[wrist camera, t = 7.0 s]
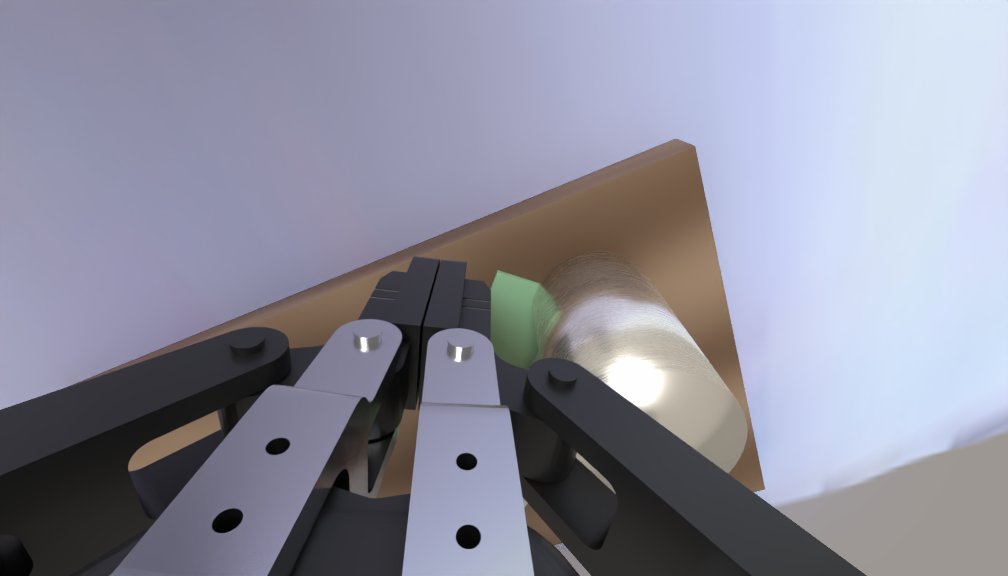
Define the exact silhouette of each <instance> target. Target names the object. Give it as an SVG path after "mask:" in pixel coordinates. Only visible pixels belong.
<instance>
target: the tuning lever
mask: <svg viewBox="0 0 1008 576" xmlns="http://www.w3.org/2000/svg"><path fill="white" fill-rule="evenodd" d="M533 316H534V323H535V330H536V337H537V344H538V353H537V355H536V356H535V358H534V360H533V362H532V363H531V364H533V363H534V362H536V361H537V360H540V359H544V358H561V359H566V360H569V361H572V362H575V363H577V364H579V365H580V366H582V367H584V368H585V369H586V370H588V371H589V372H590V373H592V374H593V375H595V376H596V377H597V378H599V379H600V380H601V381H603V382H604V383H605V384H607V385H608V386H609V387H611V388H612V389H614V390H615V391H616V392H618V393H619V394H620V395H622V396H623V397H624V398H626V399H627V400H628V401H630V402H631V403H633V404H634V405H635V406H637V407H638V408H639V409H641V410H642V411H643V412H645V413H646V414H648V415H649V416H650V417H652V418H653V419H654V420H656V421H657V422H658V423H660V424H661V425H662V426H664V427H665V428H667V429H668V430H669V431H671V432H672V433H673V434H675V435H676V436H677V437H679V438H680V439H682V440H683V441H684V442H686V443H687V444H688V445H690V446H691V447H692V448H694V449H695V450H696V451H698V452H699V453H701V454H702V455H703V456H705V457H706V458H707V459H709V460H710V461H711V462H713V463H714V464H715V465H717V466H718V467H720V468H721V469H722V470H724V471H725V472H726V473H729V472H730V471H731V470H732V469H733V467H734V466H735V465H736V463H737V462H738V460H739V459H740V457H741V454H742V452H743V450H744V447H745V444H746V440H747V431H748V430H747V421H746V417H745V414H744V411H743V409H742V407H741V405H740V404H739V402H738V401H737V400H736V398H735V397H734V395H733V394H732V393H731V391H730V390H729V388H728V387H727V386H726V384H725V383H724V382H723V380H722V379H721V377H720V376H719V375H718V373H717V372H716V370H715V369H714V368H713V366H712V365H711V364H710V362H709V361H708V359H707V358H706V357H705V355H704V354H703V352H702V351H701V350H700V348H699V347H698V346H697V344H696V343H695V341H694V340H693V339H692V337H691V336H690V334H689V333H688V332H687V330H686V329H685V327H684V326H683V325H682V323H681V322H680V321H679V319H678V318H677V316H676V315H675V314H674V312H673V311H672V309H671V308H670V307H669V305H668V304H667V303H666V301H665V300H664V298H663V297H662V296H661V294H660V293H659V291H658V290H657V289H656V287H655V286H654V284H653V283H652V282H651V280H650V279H649V278H648V276H647V275H646V273H645V272H644V271H643V270H642V268H640V267H639V266H638V265H637V264H636V263H635V262H633V261H632V260H630V259H628V258H626V257H624V256H622V255H619V254H616V253H611V252H602V251H597V252H587V253H582V254H579V255H575V256H573V257H571V258H568V259H566V260H565V261H563V262H561V263H560V264H558V265H557V266H556V267H554V268H553V269H552V270H551V271H550V272H549V273H548V274H547V275H546V276H545V278H544V279H543V280H542V282H541V283H540V285H539V287H538V289H537V291H536V294H535V298H534V303H533ZM530 366H531V365H530ZM576 458H577V459H578V460H579V461H580V462H582V463H583V464H584V465H585V466H586V467H587V468H588V469H589V470H590V471H591V472H592V473H593V474H594V475H595V476H597V477H598V478H599V479H600V480H601V481H602V482H603V483H604V484H605V485H606V486H607V487H608V488H609V489H611V490H612V491H613V492H614V493H615V491H614V489H613V487H612V486H611V484H610V483H609V482H608V481H607V480H606V478H604V477H603V476H602V475H601V474H600V473H599V472H598V471H597V470H596V469H595V468H594V467H592V466H591V465H590V464H589V463H588V462H587V461H586V460H585V459H584V458H583V457H582V456H581V455H579V454H578V453H577V454H576ZM615 494H616V493H615ZM523 504H524V508H525V507H526V505H527V504H528V503H527V502H526V501H525V499H524V498H523Z"/></svg>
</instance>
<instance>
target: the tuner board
mask: <svg viewBox="0 0 1008 576" xmlns="http://www.w3.org/2000/svg"><path fill="white" fill-rule="evenodd" d="M597 251H602V252H611V253H616V254H619V255H622V256H624V257H626V258H628V259H630V260H632V261H633V262H635V263H636V264H637V265H638V266H639V267H640V268H642V270H643V271H644V272H645V273H646V275H647V276H648V278H649V279H650V280H651V282H652V283H653V284H654V286H655V287H656V289H657V290H658V291H659V293H660V294H661V296H662V297H663V298H664V300H665V301H666V303H667V304H668V305H669V307H670V308H671V309H672V311H673V312H674V314H675V315H676V316H677V318H678V319H679V321H680V322H681V323H682V325H683V326H684V327H685V329H686V330H687V332H688V333H689V334H690V336H691V337H692V339H693V340H694V341H695V343H696V344H697V346H698V347H699V348H700V350H701V351H702V352H703V354H704V355H705V357H706V358H707V359H708V361H709V362H710V364H711V365H712V366H713V368H714V369H715V370H716V372H717V373H718V375H719V376H720V377H721V379H722V380H723V382H724V383H725V384H726V386H727V387H728V388H729V390H730V391H731V393H732V394H733V395H734V397H735V398H736V400H737V401H738V402H739V404H740V405H741V407H742V409H743V411H744V414H745V417H746V421H747V430H748V431H747V440H746V444H745V447H744V450H743V452H742V454H741V457H740V459H739V460H738V462H737V463H736V465H735V466H734V467H733V469H732V470H731V471H730V472H729V473H728V474H729V475H730V476H732V477H733V478H735V479H736V480H737V481H739V482H740V483H741V484H743V485H744V486H745V487H747V488H748V489H749V490H751V491H752V492H756V491H760V490H764V489H765V487H764V482H763V477H762V472H761V467H760V463H759V458H758V453H757V448H756V443H755V438H754V433H753V428H752V423H751V418H750V413H749V409H748V404H747V399H746V394H745V389H744V384H743V379H742V374H741V369H740V364H739V360H738V355H737V350H736V345H735V340H734V335H733V330H732V325H731V320H730V315H729V310H728V306H727V301H726V296H725V291H724V286H723V281H722V276H721V271H720V266H719V261H718V256H717V252H716V247H715V242H714V237H713V232H712V227H711V222H710V217H709V212H708V207H707V203H706V198H705V193H704V188H703V183H702V178H701V173H700V168H699V163H698V158H697V153H696V149H695V146H693V145H691V144H688V143H686V142H683V141H681V140H678V139H674V140H672V141H669V142H667V143H664V144H662V145H659V146H657V147H654V148H652V149H650V150H647V151H645V152H642V153H640V154H637V155H635V156H632V157H630V158H628V159H625V160H623V161H620V162H618V163H615V164H613V165H610V166H608V167H605V168H603V169H601V170H598V171H596V172H593V173H591V174H588V175H586V176H583V177H581V178H579V179H576V180H574V181H571V182H569V183H566V184H564V185H561V186H559V187H556V188H554V189H552V190H549V191H547V192H544V193H542V194H539V195H537V196H534V197H532V198H530V199H527V200H525V201H522V202H520V203H517V204H515V205H512V206H510V207H507V208H505V209H503V210H500V211H498V212H495V213H493V214H490V215H488V216H485V217H483V218H481V219H478V220H476V221H473V222H471V223H468V224H466V225H463V226H461V227H458V228H456V229H454V230H451V231H449V232H446V233H444V234H441V235H439V236H436V237H434V238H432V239H429V240H427V241H424V242H422V243H419V244H417V245H414V246H412V247H409V248H407V249H405V250H402V251H400V252H397V253H395V254H392V255H390V256H387V257H385V258H383V259H380V260H378V261H375V262H373V263H370V264H368V265H365V266H363V267H360V268H358V269H356V270H353V271H351V272H348V273H346V274H343V275H341V276H338V277H336V278H334V279H331V280H329V281H326V282H324V283H321V284H319V285H316V286H314V287H311V288H309V289H307V290H304V291H302V292H299V293H297V294H294V295H292V296H289V297H287V298H285V299H282V300H280V301H277V302H275V303H272V304H270V305H267V306H265V307H262V308H260V309H258V310H255V311H253V312H250V313H248V314H245V315H243V316H240V317H238V318H236V319H233V320H231V321H228V322H226V323H223V324H221V325H218V326H216V327H213V328H211V329H209V330H206V331H204V332H201V333H199V334H196V335H194V336H191V337H189V338H187V339H184V340H182V341H179V342H177V343H174V344H172V345H169V346H167V347H164V348H162V349H160V350H157V351H155V352H152V353H150V354H147V355H145V356H142V357H140V358H138V359H135V360H133V361H130V362H128V363H125V364H123V365H120V366H118V367H115V368H113V369H111V370H108V371H106V372H103V373H101V374H98V375H96V376H93V377H91V378H89V379H86V380H84V381H87V380H90V379H93V378H96V377H99V376H102V375H105V374H107V373H110V372H113V371H116V370H119V369H122V368H125V367H128V366H131V365H134V364H137V363H140V362H143V361H146V360H148V359H151V358H154V357H157V356H160V355H163V354H166V353H169V352H172V351H175V350H178V349H181V348H184V347H187V346H189V345H192V344H195V343H198V342H201V341H204V340H207V339H210V338H213V337H216V336H219V335H222V334H225V333H228V332H230V331H234V330H237V329H242V328H249V327H267V328H273V329H276V330H279V331H281V332H282V333H284V334H285V335H286V336H287V338H288V340H289V348H290V349H291V348H302V347H313V346H321V345H325V344H326V343H327V342H328V340H329V339H330V338H331V336H332V335H333V334H334V332H335V331H336V330H337V329H338V328H340V327H341V326H343V325H345V324H347V323H349V322H352V321H356V320H358V319H359V317H360V315H361V313H362V311H363V309H364V308H365V306H366V304H367V302H368V300H369V298H371V295H372V293H373V291H374V290H375V287H376V285H377V283H378V282H379V280H380V278H381V277H383V276H385V275H386V274H388V273H390V272H391V271H399V272H407V270H408V268H409V266H410V263H411V261H412V259H413V257H414V256H417V257H425V258H434V259H440V263H441V260H442V259H443V260H451V261H460V262H467V268H466V277H465V279H469V280H477V281H484V282H485V284H486V285H487V286H488V287H489V289H490V290H491V336H490V342H491V343H492V345H493V350H494V352H495V354H496V355H497V356H498V357H500V358H501V359H502V360H504V361H505V362H507V363H509V364H511V365H514V366H517V367H520V368H523V369H526V370H528V369H529V367H530V365H531V363H532V362H533V360H534V358H535V356H536V355H537V353H538V344H537V337H536V330H535V323H534V316H533V303H534V298H535V294H536V291H537V289H538V287H539V285H540V283H541V282H542V280H543V279H544V278H545V276H546V275H547V274H548V273H549V272H550V271H551V270H552V269H553V268H554V267H556V266H557V265H558V264H560V263H561V262H563V261H565V260H566V259H568V258H571V257H573V256H575V255H579V254H582V253H587V252H597ZM84 381H81V382H84ZM81 382H79V383H81ZM76 384H78V383H76ZM74 385H75V384H74ZM71 386H72V385H71ZM418 402H419V397H418V401H417V406H416V410H408V409H404V412H403V416H402V419H401V422H400V424H399V433H398V438H397V441H396V444H395V447H394V449H393V452H392V455H391V458H390V460H389V463H388V466H387V469H386V471H385V474H384V477H383V480H382V483H381V485H380V488H379V491H378V494H377V496H376V498H383V497H390V496H396V495H403V494H410V493H411V487H412V478H413V468H414V459H415V450H416V440H417V431H418V422H419V413H420V410H418ZM220 429H221V427H220V422H219V418H218V413H217V411H215V412H213V413H211V414H209V415H206V416H204V417H202V418H200V419H198V420H195V421H193V422H191V423H189V424H187V425H185V426H182V427H180V428H178V429H176V430H174V431H172V432H169V433H167V434H165V435H163V436H161V437H159V438H156V439H154V440H152V441H150V442H148V443H146V444H145V445H143V446H142V447H141V448H140V449H138V450H137V451H136V452H135V453H134V455H133V456H132V458H131V459H130V461H129V464H128V470H129V471H134V470H138V469H141V468H143V467H145V466H147V465H149V464H151V463H153V462H155V461H157V460H159V459H161V458H163V457H165V456H168V455H170V454H172V453H174V452H176V451H178V450H180V449H182V448H184V447H186V446H188V445H190V444H192V443H194V442H196V441H198V440H200V439H202V438H204V437H206V436H208V435H210V434H212V433H214V432H216V431H218V430H220ZM524 511H525V517H526V524H527V526H529V527H530V528H532V529H534V530H535V531H537V532H538V533H539V534H541V535H542V536H543V537H544V538H546V539H547V540H548V541H549V542H550V543H551V544H552V545H556V544H560V543H562V542H561V540H560V539H559V538H558V537H557V536H556V535H555V534H554V532H553V531H552V530H551V529H550V528H549V527H548V526H547V524H546V523H545V522H544V521H543V520H542V519H541V518H540V517H539V515H538V514H537V513H536V512H535V511H534V510H533V509H532V507H531V506H530V505H529V504H527V505H526V507H525V508H524Z"/></svg>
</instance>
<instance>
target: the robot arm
mask: <svg viewBox="0 0 1008 576" xmlns="http://www.w3.org/2000/svg"><path fill="white" fill-rule="evenodd" d="M466 268H467V262H460V261H451V260H443V259H442V260H441V263H440V259H434V258H425V257H417V256H414V257H413V259H412V261H411V263H410V266H409V268H408V270H407V272H399V271H391V272H390V273H388V274H386V275H385V276H383V277H381V278H380V280H379V282H378V283H377V285H376V287H375V290H374V291H373V293H372V295H371V298H369V300H368V302H367V304H366V306H365V308H364V309H363V311H362V313H361V315H360V317H359V319H358V320H356V321H352V322H349V323H347V324H345V325H343V326H341V327H340V328H338V329H337V330H336V331H335V332H334V334H333V335H332V336H331V338H330V339H329V340H328V342H327V343H326V344H325V345H321V346H313V347H302V348H291V349H290V348H289V340H288V338H287V336H286V335H285V334H284V333H282V332H281V331H279V330H276V329H273V328H267V327H249V328H242V329H237V330H234V331H230V332H228V333H225V334H222V335H219V336H216V337H213V338H210V339H207V340H204V341H201V342H198V343H195V344H192V345H189V346H187V347H184V348H181V349H178V350H175V351H172V352H169V353H166V354H163V355H160V356H157V357H154V358H151V359H148V360H146V361H143V362H140V363H137V364H134V365H131V366H128V367H125V368H122V369H119V370H116V371H113V372H110V373H107V374H105V375H102V376H99V377H96V378H93V379H90V380H87V381H84V382H81V383H78V384H75V385H72V386H69V387H66V388H64V389H61V390H58V391H55V392H52V393H49V394H46V395H43V396H40V397H37V398H34V399H31V400H28V401H25V402H22V403H20V404H17V405H14V406H11V407H8V408H5V409H2V410H0V576H579V574H578V573H577V572H576V571H575V569H574V568H573V567H572V566H571V564H570V563H569V562H568V561H567V559H565V557H564V556H563V555H562V554H561V552H560V551H559V550H558V549H557V548H555V547H554V546H553V545H552V544H551V543H550V542H549V541H548V540H547V539H546V538H544V537H543V536H542V535H541V534H539V533H538V532H537V531H535V530H534V529H532V528H530V527H529V526H527V524H526V517H525V511H524V504H523V498H524V499H525V501H526V502H527V503H528V504H529V505H530V506H531V507H532V509H533V510H534V511H535V512H536V513H537V514H538V515H539V517H540V518H541V519H542V520H543V521H544V522H545V523H546V524H547V526H548V527H549V528H550V529H551V530H552V531H553V532H554V534H555V535H556V536H557V537H558V538H559V539H560V540H561V542H562V543H563V544H564V545H565V546H566V547H567V548H568V550H569V551H570V552H571V553H572V554H573V555H574V556H575V557H576V559H577V560H578V561H579V562H580V563H581V564H582V565H583V567H584V568H585V569H586V570H587V571H588V572H589V573H590V575H591V576H866V575H865V574H864V573H862V572H861V571H860V570H858V569H857V568H855V567H854V566H853V565H851V564H850V563H849V562H847V561H846V560H845V559H843V558H842V557H841V556H839V555H838V554H836V553H835V552H834V551H832V550H831V549H830V548H828V547H827V546H826V545H824V544H823V543H821V542H820V541H819V540H817V539H816V538H815V537H813V536H812V535H811V534H809V533H808V532H807V531H805V530H804V529H802V528H801V527H800V526H798V525H797V524H796V523H794V522H793V521H792V520H790V519H789V518H787V517H786V516H785V515H783V514H782V513H780V512H779V511H778V510H777V509H775V508H774V507H773V506H771V505H770V504H769V503H767V502H766V501H764V500H763V499H762V498H760V497H759V496H758V495H756V494H755V493H754V492H752V491H751V490H749V489H748V488H747V487H745V486H744V485H743V484H741V483H740V482H739V481H737V480H736V479H735V478H733V477H732V476H730V475H729V474H728V473H726V472H725V471H724V470H722V469H721V468H720V467H718V466H717V465H715V464H714V463H713V462H711V461H710V460H709V459H707V458H706V457H705V456H703V455H702V454H701V453H699V452H698V451H696V450H695V449H694V448H692V447H691V446H690V445H688V444H687V443H686V442H684V441H683V440H682V439H680V438H679V437H677V436H676V435H675V434H673V433H672V432H671V431H669V430H668V429H667V428H665V427H664V426H662V425H661V424H660V423H658V422H657V421H656V420H654V419H653V418H652V417H650V416H649V415H648V414H646V413H645V412H643V411H642V410H641V409H639V408H638V407H637V406H635V405H634V404H633V403H631V402H630V401H628V400H627V399H626V398H624V397H623V396H622V395H620V394H619V393H618V392H616V391H615V390H614V389H612V388H611V387H609V386H608V385H607V384H605V383H604V382H603V381H601V380H600V379H599V378H597V377H596V376H595V375H593V374H592V373H590V372H589V371H588V370H586V369H585V368H584V367H582V366H580V365H579V364H577V363H575V362H572V361H569V360H566V359H561V358H544V359H540V360H537V361H536V362H534V363H533V364H531V366H530V367H529V369H528V370H526V369H523V368H520V367H517V366H514V365H511V364H509V363H507V362H505V361H504V360H502V359H501V358H500V357H498V356H497V355H496V354H495V352H494V350H493V345H492V343H491V342H490V336H491V290H490V289H489V287H488V286H487V285H486V284H485V282H484V281H477V280H469V279H465V277H466ZM418 397H419V402H418V410H420V413H419V422H418V431H417V440H416V450H415V459H414V468H413V478H412V487H411V493H410V494H403V495H396V496H390V497H383V498H376V496H377V494H378V491H379V488H380V485H381V483H382V480H383V477H384V474H385V471H386V469H387V466H388V463H389V460H390V458H391V455H392V452H393V449H394V447H395V444H396V441H397V438H398V433H399V424H400V422H401V419H402V416H403V412H404V409H408V410H416V406H417V401H418ZM215 411H217V413H218V418H219V422H220V427H221V429H220V430H218V431H216V432H214V433H212V434H210V435H208V436H206V437H204V438H202V439H200V440H198V441H196V442H194V443H192V444H190V445H188V446H186V447H184V448H182V449H180V450H178V451H176V452H174V453H172V454H170V455H168V456H165V457H163V458H161V459H159V460H157V461H155V462H153V463H151V464H149V465H147V466H145V467H143V468H141V469H138V470H134V471H129V470H128V464H129V461H130V459H131V458H132V456H133V455H134V453H135V452H136V451H137V450H138V449H140V448H141V447H142V446H143V445H145V444H146V443H148V442H150V441H152V440H154V439H156V438H159V437H161V436H163V435H165V434H167V433H169V432H172V431H174V430H176V429H178V428H180V427H182V426H185V425H187V424H189V423H191V422H193V421H195V420H198V419H200V418H202V417H204V416H206V415H209V414H211V413H213V412H215ZM577 453H578V454H579V455H581V456H582V457H583V458H584V459H585V460H586V461H587V462H588V463H589V464H590V465H591V466H592V467H594V468H595V469H596V470H597V471H598V472H599V473H600V474H601V475H602V476H603V477H604V478H606V480H607V481H608V482H609V483H610V484H611V486H612V487H613V489H614V491H615V493H616V494H615V493H614V492H613V491H612V490H611V489H609V488H608V487H607V486H606V485H605V484H604V483H603V482H602V481H601V480H600V479H599V478H598V477H597V476H595V475H594V474H593V473H592V472H591V471H590V470H589V469H588V468H587V467H586V466H585V465H584V464H583V463H582V462H580V461H579V460H578V459H577V458H576V454H577Z"/></svg>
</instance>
